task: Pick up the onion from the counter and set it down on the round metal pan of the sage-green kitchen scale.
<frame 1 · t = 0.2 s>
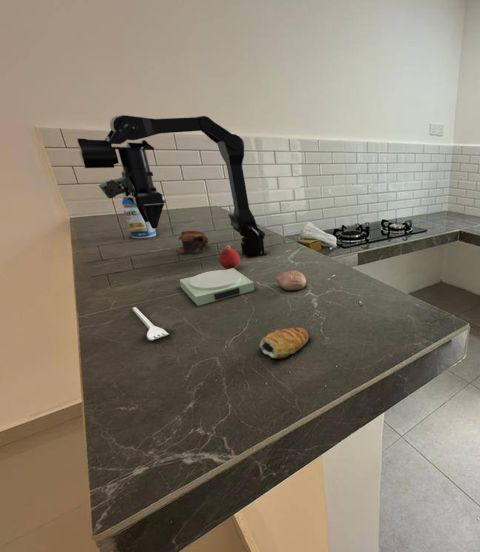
hand: (150, 225, 92), 15 cm above the counter, tool pointing down, fingers open, 9 cm apart
pastry: (284, 348, 65), on the counter
pink oval lump: (291, 287, 93), on the counter
fork: (148, 326, 70), on the counter
onion: (231, 270, 102), on the counter
scale: (218, 289, 89), on the counter
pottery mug: (197, 250, 117), on the counter
beverage bottle: (144, 236, 130), on the counter
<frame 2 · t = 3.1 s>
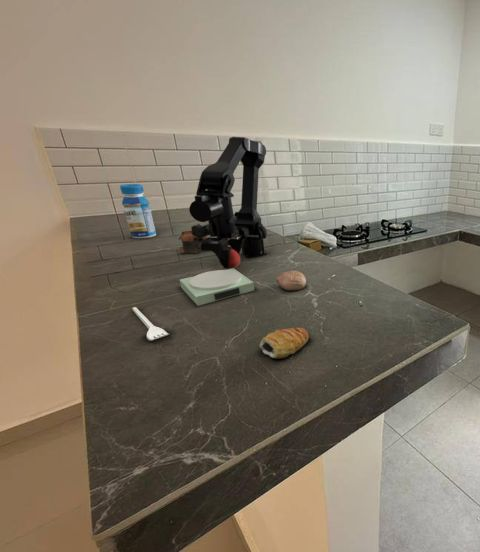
hand: (230, 264, 101), 2 cm above the counter, tool pointing down, fingers closed on onion, 6 cm apart
onion: (231, 270, 102), on the counter, touching gripper
everything else where it was.
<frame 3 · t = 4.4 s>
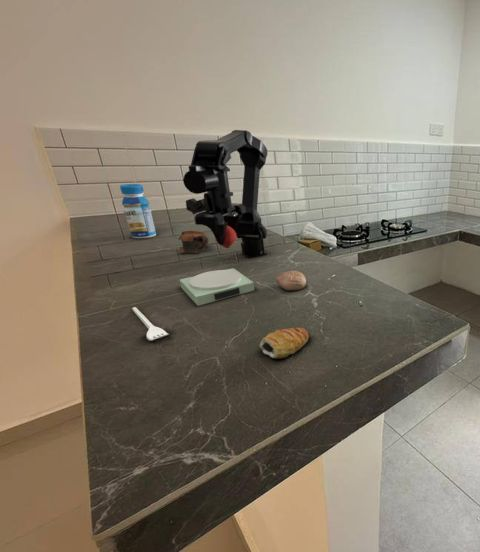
hand: (226, 241, 98), 9 cm above the counter, tool pointing down, fingers closed on onion, 6 cm apart
onion: (227, 248, 99), point 7 cm above the counter, touching gripper
everything else where it was.
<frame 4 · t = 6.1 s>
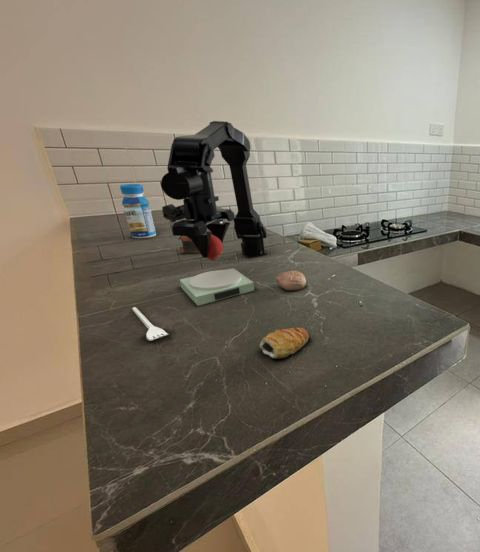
hand: (211, 253, 85), 10 cm above the counter, tool pointing down, fingers closed on onion, 6 cm apart
onion: (213, 261, 86), point 8 cm above the counter, touching gripper
everything else where it was.
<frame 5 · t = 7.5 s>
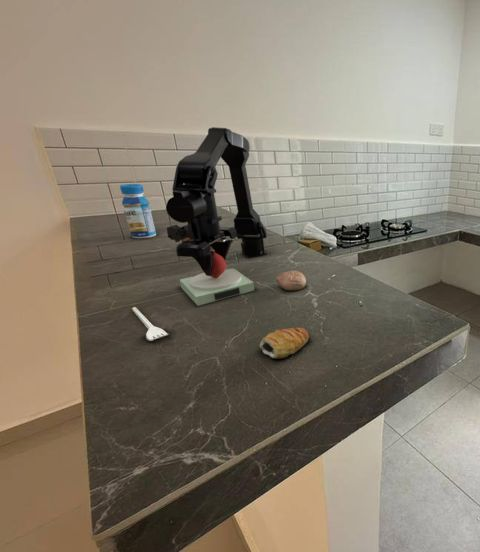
hand: (214, 271, 87), 5 cm above the counter, tool pointing down, fingers closed on onion, 6 cm apart
onion: (216, 278, 88), point 3 cm above the counter, touching gripper, scale
everything else where it was.
when the fingers open (5 cm above the counter, at t = 7.7 s): onion stays where it is, resting on scale.
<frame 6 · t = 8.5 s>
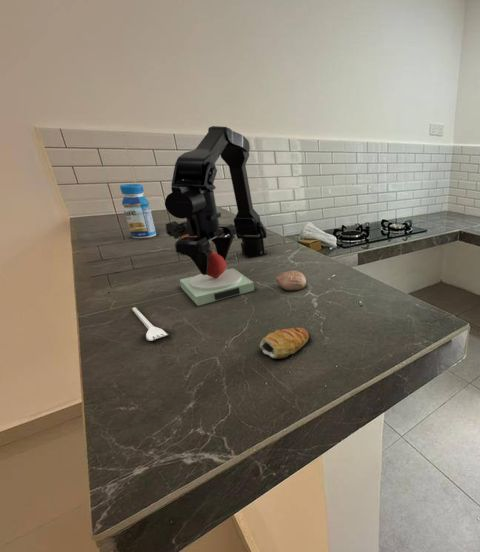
hand: (214, 268, 86), 6 cm above the counter, tool pointing down, fingers open, 9 cm apart
onion: (216, 278, 88), point 3 cm above the counter, touching scale
everything else where it was.
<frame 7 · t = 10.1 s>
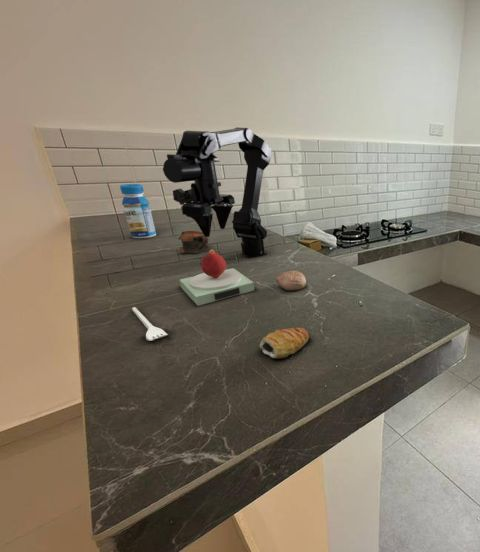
hand: (215, 232, 98), 12 cm above the counter, tool pointing down, fingers open, 9 cm apart
nothing on the counter moved.
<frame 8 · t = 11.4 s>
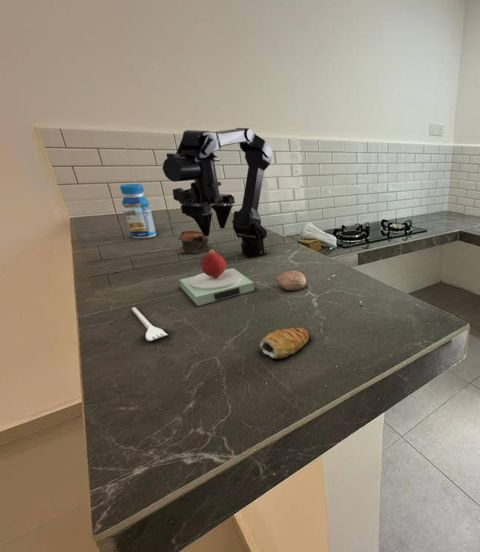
hand: (214, 232, 98), 12 cm above the counter, tool pointing down, fingers open, 9 cm apart
nothing on the counter moved.
at the end: onion inside the target area on the scale (0.1 cm from its centre), point 3.1 cm above the scale's base; onion touching scale; the gripper is holding nothing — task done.
